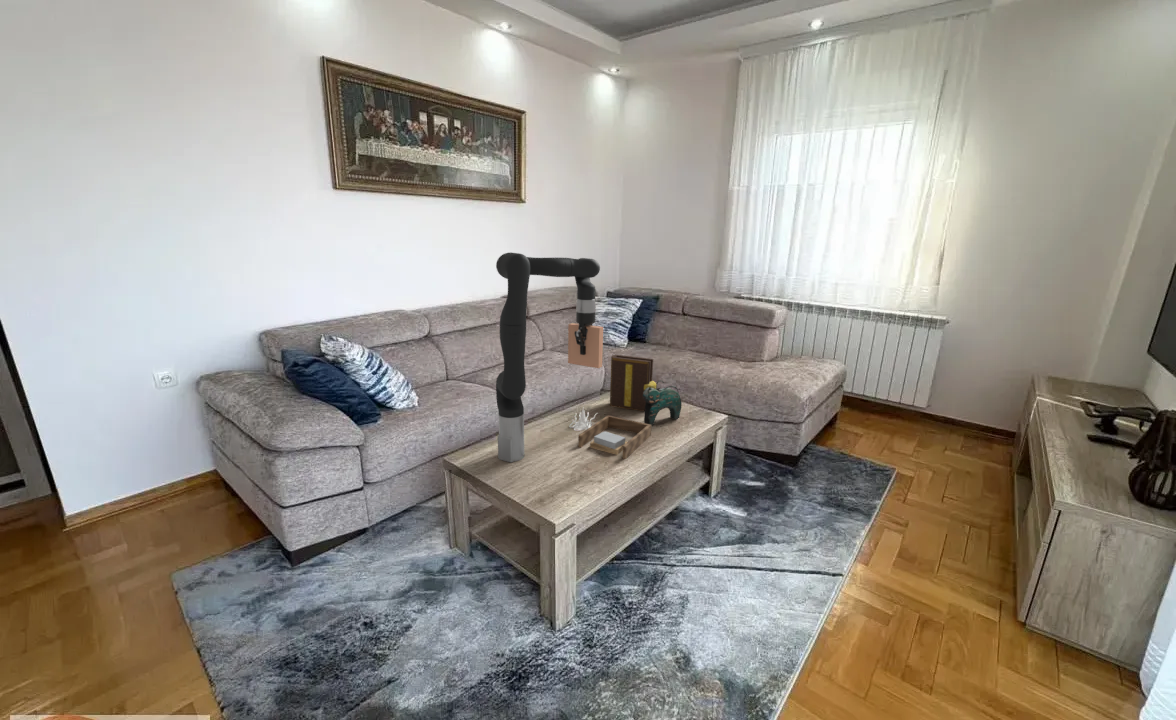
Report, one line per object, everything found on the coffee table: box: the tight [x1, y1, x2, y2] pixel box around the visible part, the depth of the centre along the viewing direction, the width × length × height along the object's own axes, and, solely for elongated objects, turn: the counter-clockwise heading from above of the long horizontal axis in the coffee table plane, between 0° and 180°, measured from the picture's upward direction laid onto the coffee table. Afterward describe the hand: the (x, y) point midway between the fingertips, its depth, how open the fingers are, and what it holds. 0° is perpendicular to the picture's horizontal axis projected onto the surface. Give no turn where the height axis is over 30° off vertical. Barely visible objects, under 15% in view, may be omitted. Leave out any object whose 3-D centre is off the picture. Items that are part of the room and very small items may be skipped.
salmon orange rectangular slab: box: [567, 322, 604, 369], centre depth 195 cm, size 3×14×16 cm, turn 61°
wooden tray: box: [577, 414, 653, 460], centre depth 199 cm, size 25×20×5 cm
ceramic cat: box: [643, 379, 683, 426], centre depth 218 cm, size 20×6×20 cm, turn 119°
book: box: [609, 354, 657, 412], centre depth 233 cm, size 22×8×25 cm, turn 68°
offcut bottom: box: [589, 440, 628, 456], centre depth 194 cm, size 9×12×2 cm
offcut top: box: [593, 430, 626, 449], centre depth 193 cm, size 7×10×2 cm
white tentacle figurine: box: [568, 406, 599, 432], centre depth 213 cm, size 9×12×9 cm
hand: (585, 353), depth 196 cm, fingers closed on salmon orange rectangular slab, 3 cm apart
